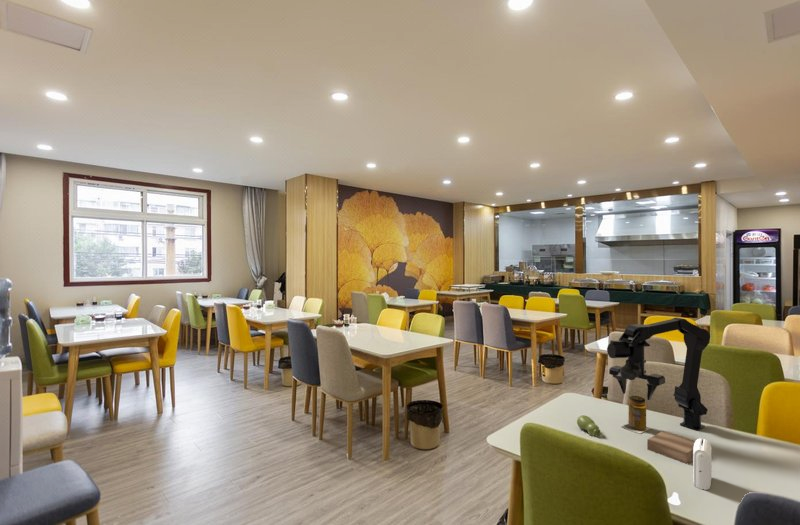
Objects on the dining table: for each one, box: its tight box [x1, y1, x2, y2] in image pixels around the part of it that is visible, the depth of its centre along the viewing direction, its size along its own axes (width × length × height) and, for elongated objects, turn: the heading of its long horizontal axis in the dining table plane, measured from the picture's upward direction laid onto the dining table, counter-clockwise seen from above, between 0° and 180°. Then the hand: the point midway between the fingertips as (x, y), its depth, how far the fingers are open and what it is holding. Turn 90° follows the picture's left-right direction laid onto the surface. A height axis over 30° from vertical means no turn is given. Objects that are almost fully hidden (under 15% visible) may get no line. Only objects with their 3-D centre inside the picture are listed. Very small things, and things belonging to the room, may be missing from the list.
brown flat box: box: [646, 430, 696, 465], centre depth 138 cm, size 12×12×4 cm
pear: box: [576, 414, 602, 437], centre depth 155 cm, size 6×5×10 cm
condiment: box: [621, 395, 652, 435], centre depth 157 cm, size 7×8×12 cm
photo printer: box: [692, 438, 713, 491], centre depth 120 cm, size 10×4×12 cm, turn 140°
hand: (636, 396), depth 157 cm, fingers open, 9 cm apart
